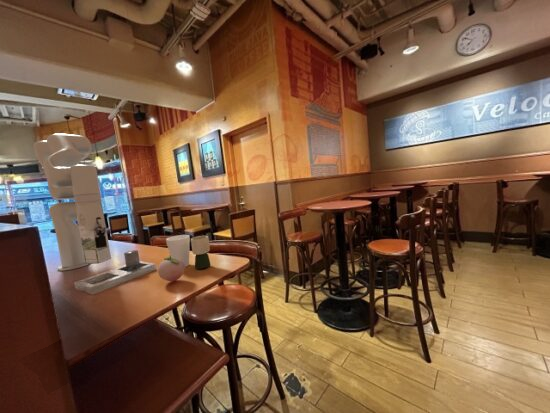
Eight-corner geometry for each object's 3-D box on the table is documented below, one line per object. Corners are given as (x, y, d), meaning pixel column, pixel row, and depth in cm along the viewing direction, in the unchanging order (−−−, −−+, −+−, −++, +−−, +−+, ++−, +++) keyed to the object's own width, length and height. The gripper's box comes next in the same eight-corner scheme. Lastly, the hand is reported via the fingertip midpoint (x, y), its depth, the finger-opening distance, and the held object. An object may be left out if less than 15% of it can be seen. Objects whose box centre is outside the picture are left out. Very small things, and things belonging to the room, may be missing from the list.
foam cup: (170, 265, 102) (166, 237, 101) (191, 261, 106) (188, 233, 105) (170, 272, 94) (166, 241, 92) (193, 267, 98) (190, 237, 96)
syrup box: (112, 258, 88) (106, 221, 86) (98, 264, 82) (92, 224, 80) (98, 259, 88) (92, 222, 87) (84, 264, 83) (77, 225, 81)
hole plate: (75, 288, 84) (71, 265, 83) (138, 265, 105) (135, 247, 104) (92, 294, 78) (88, 269, 77) (156, 269, 99) (153, 249, 98)
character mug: (218, 266, 96) (215, 236, 95) (204, 272, 91) (200, 241, 89) (201, 262, 103) (198, 234, 101) (188, 268, 97) (184, 238, 95)
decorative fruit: (154, 285, 82) (150, 258, 81) (173, 276, 89) (169, 251, 88) (172, 289, 78) (168, 261, 77) (190, 279, 85) (187, 253, 84)
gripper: (64, 201, 84) (73, 248, 85) (87, 199, 75) (96, 251, 77) (88, 199, 90) (96, 242, 92) (112, 197, 82) (119, 245, 84)
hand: (96, 246), depth 85 cm, fingers closed on syrup box, 7 cm apart
